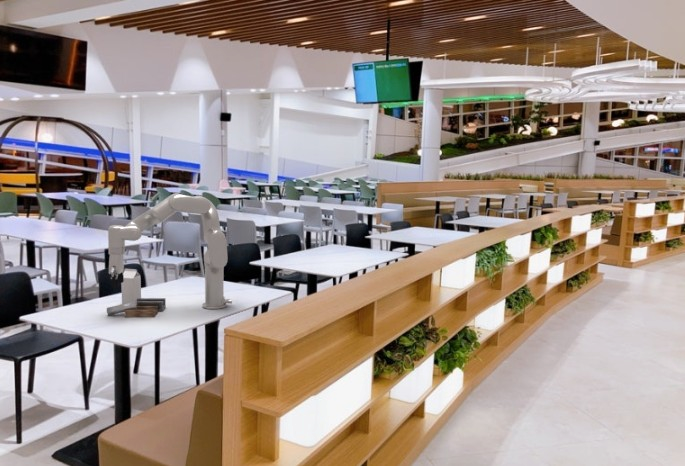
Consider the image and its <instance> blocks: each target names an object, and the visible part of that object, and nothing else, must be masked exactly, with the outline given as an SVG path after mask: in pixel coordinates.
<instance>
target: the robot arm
mask: <svg viewBox="0 0 685 466" xmlns="http://www.w3.org/2000/svg"><path fill="white" fill-rule="evenodd" d="M177 212H178V213H179V212H180V213H187V214H195V215H200V217H201V220H202V228H203V241H204V242H205V244H207V248H208V249H206V251H205V252H204V255H203V262H204V264H203V265H204V276H205V277H204V284H205V285H204V290H205V291H204V293H205V294H204V295H205V296H204V297H205V299H204V300H205V301H204V302H203V303H202V308H203V309H207V310H220V309H223V308H226V307H227V304H232V303H233V300H232V299H230V298H227V299H226V297H225V296H224V293H225V292H224V277H225V275H224V267H226V266H227V263H228V244H227V238H226V235H225V233H224V232H223V231H222V230H221V224H220V217H219V213H218V210H217V207H216V206H215V205H214V204H213V202H212V201H211V200H209V199H208V198H206V197H205V196H202V195H195V196H192V195H184V194H181V193H178V192H177V193H172V194H171V195H169V196H167V197H166V198H165V199H163V200H161V201H160V202H159V203H158V204H156V205H155V206H153V207H152V208H150V209H148V210H147V211H145V212H144V213H141V214H140V215H139V216H137V217H136V218H134V219H133V220H131V221H130V222H128V223H127V224H126V225H125V226H123V225H119V224H118V225H117V224H114V225H113V224H112V225H110V226H108V228H107V235H108V236H107V237H108V238H107V240H108V242H107V243H108V255H109V257H108V259H109V260H108V274H109V275H110V287H111V288H118V287H119V283H120V284H121V283H123V282H124V278H123V273H124V271H125V259H124V256H125V255H124V254H126V241H130V242H132V241H133V242H134V241H138V240H139V239H141V237H142V235H143V232H144V231H146V230H147V229H148V228H151V227H152V226H155V225H158V224H161V223H163V222H165V221H166V220H167V219H168V218H170V217H172V216H173V215H175V214H176V213H177Z"/></svg>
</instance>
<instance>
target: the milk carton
mask: <svg viewBox="0 0 685 466" xmlns="http://www.w3.org/2000/svg"><path fill="white" fill-rule="evenodd" d="M122 275H123V278H124V282H123V283H120V285H121V286H120V287H121V304H126V303H130V302H134V301H137V299H138V298H142V287H141V286H142V285H141V284H142V283H141V282H142V281H141V280H142V279H141V274H140V272H138V269H134V268H133V269H132V268H124V270H123V274H122Z"/></svg>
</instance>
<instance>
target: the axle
mask: <svg viewBox="0 0 685 466" xmlns="http://www.w3.org/2000/svg"><path fill="white" fill-rule="evenodd" d="M135 309H138V305H137V302H136V301H134V302H130V303H126V304H122V303H121V304H118V305H113V306H110V307H109V306H108V307H106V314H107V316H112V315H118V314H122V313H125V310H135Z"/></svg>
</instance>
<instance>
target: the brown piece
mask: <svg viewBox="0 0 685 466" xmlns="http://www.w3.org/2000/svg"><path fill="white" fill-rule="evenodd" d="M158 313H159V312H158V306H138V309H135V310H125V312H124V318H155V317H156V316H157V315H158Z"/></svg>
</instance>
